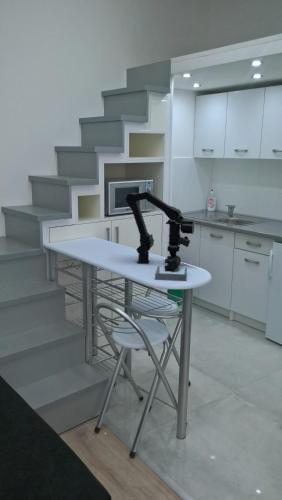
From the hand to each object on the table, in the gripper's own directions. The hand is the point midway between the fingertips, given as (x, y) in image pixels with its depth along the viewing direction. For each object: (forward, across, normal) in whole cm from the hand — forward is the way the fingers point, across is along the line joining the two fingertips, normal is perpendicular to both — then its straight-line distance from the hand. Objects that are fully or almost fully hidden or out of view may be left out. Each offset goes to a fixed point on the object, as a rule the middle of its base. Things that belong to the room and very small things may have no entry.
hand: (173, 260), depth 234 cm
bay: (+2, -22, 0) cm, 22 cm away
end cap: (+3, -9, 0) cm, 9 cm away
